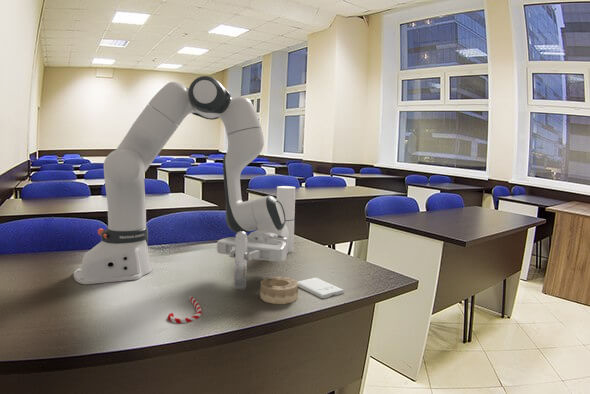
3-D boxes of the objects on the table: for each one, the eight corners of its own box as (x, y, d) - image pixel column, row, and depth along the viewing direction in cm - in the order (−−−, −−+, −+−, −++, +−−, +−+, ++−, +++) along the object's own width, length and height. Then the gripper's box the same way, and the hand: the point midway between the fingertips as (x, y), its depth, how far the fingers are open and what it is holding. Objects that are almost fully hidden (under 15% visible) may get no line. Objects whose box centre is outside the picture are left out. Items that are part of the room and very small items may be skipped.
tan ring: (273, 306, 109) (273, 292, 108) (253, 294, 117) (254, 280, 117) (304, 299, 115) (305, 285, 114) (284, 287, 123) (284, 274, 123)
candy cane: (204, 295, 113) (199, 319, 98) (204, 300, 113) (199, 324, 98) (174, 296, 112) (165, 320, 97) (174, 300, 112) (165, 325, 97)
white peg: (237, 289, 112) (239, 233, 110) (232, 286, 115) (233, 230, 113) (248, 287, 114) (249, 232, 112) (242, 284, 117) (244, 229, 115)
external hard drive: (316, 282, 131) (344, 294, 121) (295, 287, 126) (322, 300, 116) (316, 277, 130) (344, 289, 121) (295, 281, 125) (322, 294, 116)
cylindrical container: (291, 253, 160) (293, 188, 157) (273, 251, 162) (274, 187, 158) (294, 248, 167) (297, 186, 164) (277, 247, 169) (279, 185, 165)
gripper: (229, 230, 128) (205, 239, 115) (292, 238, 122) (274, 249, 109) (229, 250, 129) (205, 261, 116) (291, 259, 123) (273, 272, 110)
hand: (239, 255), depth 112 cm, fingers closed on white peg, 3 cm apart
